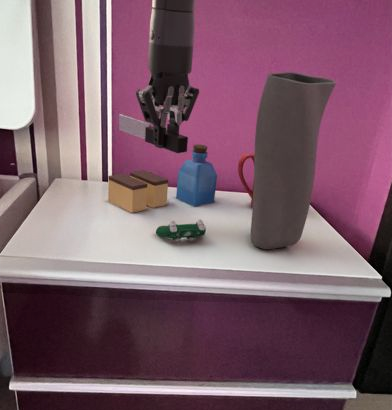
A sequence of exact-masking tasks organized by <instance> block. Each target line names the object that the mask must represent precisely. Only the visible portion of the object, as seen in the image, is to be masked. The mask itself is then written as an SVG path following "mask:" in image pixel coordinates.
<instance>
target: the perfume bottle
mask: <svg viewBox="0 0 392 410" xmlns="http://www.w3.org/2000/svg"><path fill="white" fill-rule="evenodd" d="M192 147H193V148H192V149H193V150H191V157H192V159H187V160H186V159H185V161H184V162H183V164H182V165H181V166H180V168H179V169H178V170H177V179H176V180H177V181H176V194H175V199H177V200H179V201H181V202H184V203H186V204H188V205H190V206H191V207H198V206H203V205H209V204H212V203H213V204H214V203H215V198H216V190H217V189H216V188H217V183H218V182H217V181H218V174H217V172H216V170H215V167H214V165H213V163H212V162H209V161H207V160H206V159H207V158H208V151H207V150H208V146H207V145H205V144H197V143H196V144H193V145H192Z"/></svg>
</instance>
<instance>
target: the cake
mask: <svg viewBox="0 0 392 410" xmlns="http://www.w3.org/2000/svg"><path fill="white" fill-rule="evenodd" d="M129 174H130V175H128V174H125V173H117V174H112V175H108V180H107V181H108V183H107V184H108V185H107V186H108V187H107V189H108V190H107V200H108V201H107V202H108V203H110V204H112V205H114V206H117V207H118V208H120V209H123V210H125V211H127V212H129V213H131V214H133V213H137V212H142V211H146V210H147V206H148V207H150V208H152V209H155V208H159V207H163V206H167V204H168V190H169V179H167V178H166V177H162V176H161V175H158V174H155V173H152V172H150V171H148V170H145V169H142V170H136V171H131V172H129Z"/></svg>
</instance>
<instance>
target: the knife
mask: <svg viewBox="0 0 392 410" xmlns="http://www.w3.org/2000/svg"><path fill="white" fill-rule="evenodd" d="M118 116H119V118H118V119H119V120H118V123H119V125H118V129H119V131H121V132H124V133H126V134H129V135H132V136H134V137H137V138H140V139H143V140H144V142H146V143H148V144H150V145H153V146H155V145H154V143H153V136H154V135H153V132H154V126H153V125H152V124H151V123H149V122H146V121H142V120H140V119H137V118H134V117H131V116H128V115H125V114H122V113H119V114H118ZM188 143H189V137H188V136H186V135H183V134H181V133H179V134H177V133H174V132H171V131H168V130H167V129H166V134H165V147H164V148H163V149H164V150H167V151H170V152H172V153H176V154H182V153H187V152H188Z"/></svg>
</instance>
